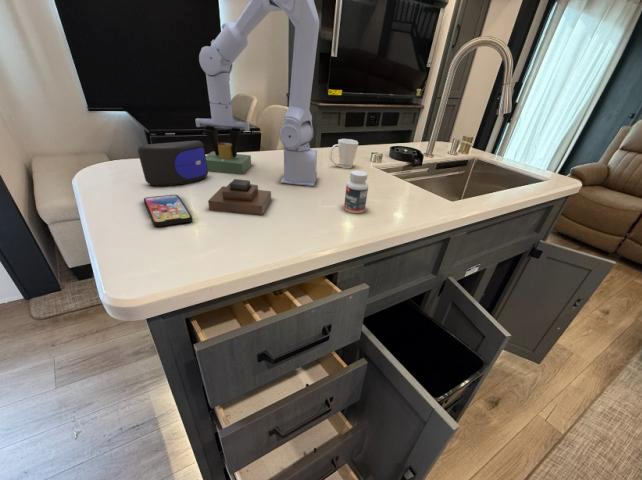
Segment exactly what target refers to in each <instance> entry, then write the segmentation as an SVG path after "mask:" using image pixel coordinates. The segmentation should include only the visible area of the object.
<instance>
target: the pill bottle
mask: <svg viewBox="0 0 642 480" xmlns="http://www.w3.org/2000/svg"><path fill="white" fill-rule="evenodd" d="M367 180H368V172H366V171H363V170H352V171H350V173H349V180H348V181H347V182H346V185H345V186H346V187H345V194H344V195H345V196H344V205H343V209H344V210H345V211H346V212H348V213H351V214H361V213H364V212H365V210H366V206H367V205H366V204H367V198H368V194H369V193H368V191H369V184H368V183H367Z"/></svg>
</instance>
